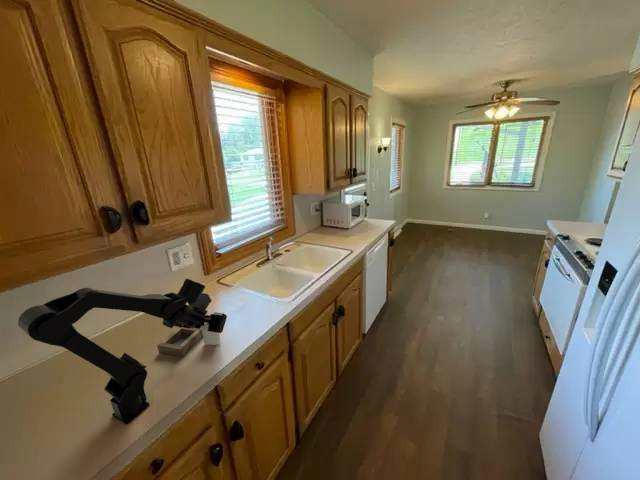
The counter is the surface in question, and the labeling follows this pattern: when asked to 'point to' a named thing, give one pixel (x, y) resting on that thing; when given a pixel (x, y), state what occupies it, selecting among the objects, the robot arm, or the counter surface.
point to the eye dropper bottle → (209, 335)
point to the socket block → (180, 342)
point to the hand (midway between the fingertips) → (212, 324)
